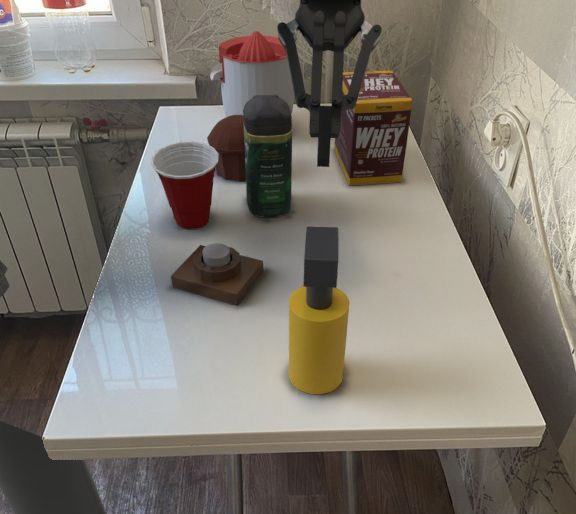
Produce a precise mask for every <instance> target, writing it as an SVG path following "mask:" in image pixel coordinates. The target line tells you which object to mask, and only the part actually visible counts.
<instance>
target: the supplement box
mask: <svg viewBox="0 0 576 514" xmlns="http://www.w3.org/2000/svg"><path fill="white" fill-rule="evenodd" d="M353 73H354V71H343V87H342V96H344V95H347V94H348V91H349V87H350V84H351V80H352V77H353ZM413 101H414V100H413V99H412V97H411V96H410V94H409V93H408V92H407V90H406V89H405V88H404V86H403V83H401V82H400V80H399V79H398V77H397V76H396V75H395V73H394V71H393V70H366V72H365V75H364V79H363V82H362V85H361V89H360V92H359V96H358V99H357V103H356V106H355V108H354V109H352V110H351V109H347V110H344V111H343V112H342V113H341V130H340V136H339V138H334V149H333V151H334V153H335V155H336V158H337V160H338V163H339V166H340V167H341V170H342V173H343V175H344V177H345V180H346V183H347V185H348V186H361V185H362V186H364V185H377V184H379V185H380V184H394V183H402V181H403V174H404V166H405V160H406V152H407V145H408V136H409V130H410V121H411V115H412V107H413Z"/></svg>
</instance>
